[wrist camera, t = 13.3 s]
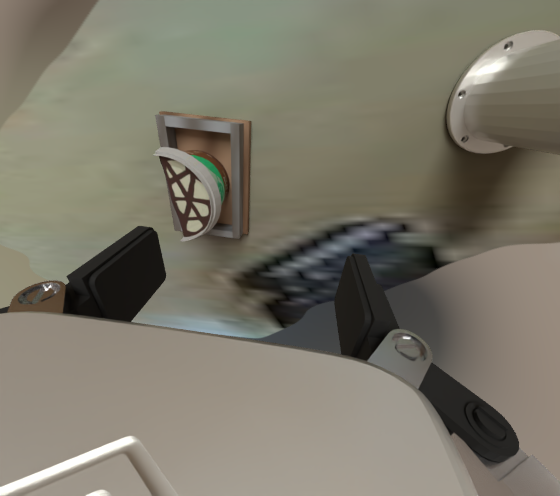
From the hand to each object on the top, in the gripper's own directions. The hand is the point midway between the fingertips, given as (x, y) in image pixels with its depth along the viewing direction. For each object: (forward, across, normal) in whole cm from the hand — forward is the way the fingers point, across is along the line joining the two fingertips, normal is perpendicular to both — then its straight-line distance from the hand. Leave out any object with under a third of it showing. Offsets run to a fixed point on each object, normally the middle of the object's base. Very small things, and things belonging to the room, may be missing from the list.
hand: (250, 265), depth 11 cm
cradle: (+28, +12, +4) cm, 31 cm away
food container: (+27, +11, +4) cm, 30 cm away
